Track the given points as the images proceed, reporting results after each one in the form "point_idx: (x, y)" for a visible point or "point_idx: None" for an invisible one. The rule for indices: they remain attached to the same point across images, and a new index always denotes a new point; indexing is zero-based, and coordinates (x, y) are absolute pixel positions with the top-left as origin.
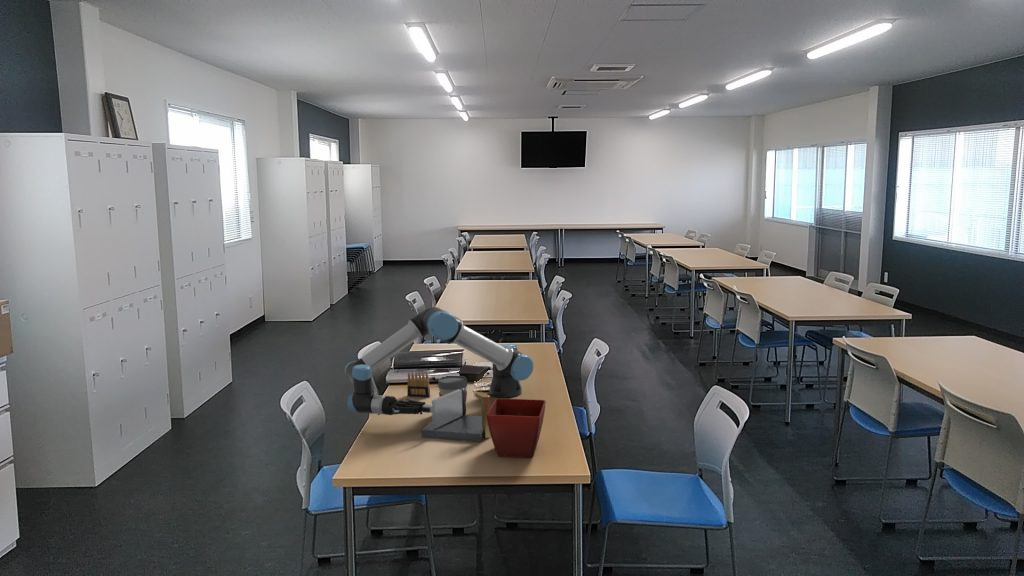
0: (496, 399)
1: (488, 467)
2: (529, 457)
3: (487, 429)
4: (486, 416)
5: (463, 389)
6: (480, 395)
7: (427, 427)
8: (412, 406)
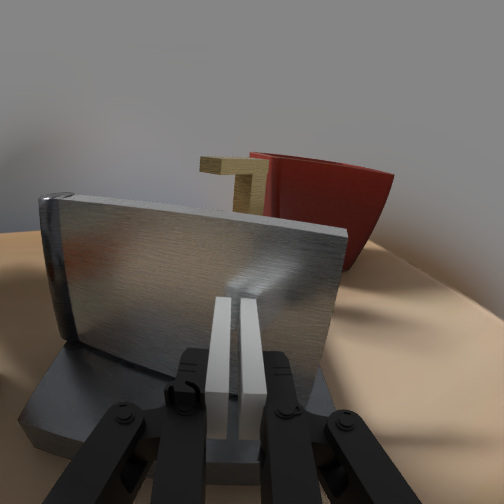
0: (281, 157)
1: (400, 274)
2: None
3: None
4: None
5: (74, 193)
6: (250, 159)
7: None
8: (320, 500)
